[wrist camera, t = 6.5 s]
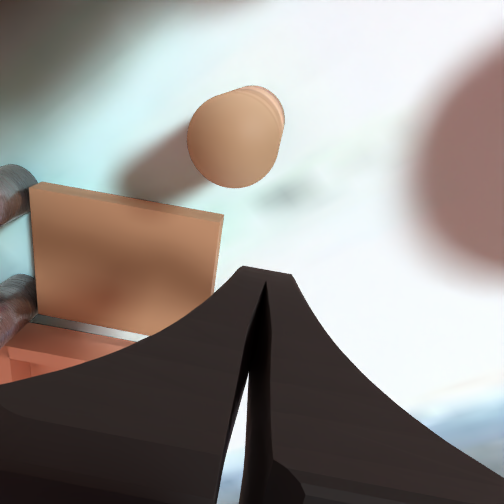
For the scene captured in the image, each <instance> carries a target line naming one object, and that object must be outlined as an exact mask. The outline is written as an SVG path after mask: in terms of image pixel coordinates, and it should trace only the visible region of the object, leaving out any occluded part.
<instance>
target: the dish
mask: <svg viewBox="0 0 504 504" xmlns="http://www.w3.org/2000/svg"><path fill="white" fill-rule="evenodd" d="M134 343H136V342H134V341H128V340H123V339H117V338H112V337H107V336H101V335H96V334H90V333H85V332H80V331H74V330H69V329H63V328H58V327H53V326H47V325H42V324H36V323H31V322H29V323H28V324H26V325H25V326H24V327H23V328H22V329H21V330H20V331H19V332H18V333H17V334H16V335H15V336H14V337H13V338H12V339H11V340H9V341H8V342H7V343H6V344H5V345H4V346H3V347H2V348H1V349H0V384H5V383H10V382H14V381H18V380H22V379H26V378H30V377H34V376H38V375H42V374H46V373H50V372H54V371H58V370H62V369H65V368H68V367H72V366H75V365H78V364H81V363H84V362H87V361H90V360H93V359H96V358H99V357H102V356H105V355H107V354H110V353H113V352H115V351H118V350H121V349H123V348H125V347H127V346H129V345H132V344H134Z"/></svg>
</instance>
